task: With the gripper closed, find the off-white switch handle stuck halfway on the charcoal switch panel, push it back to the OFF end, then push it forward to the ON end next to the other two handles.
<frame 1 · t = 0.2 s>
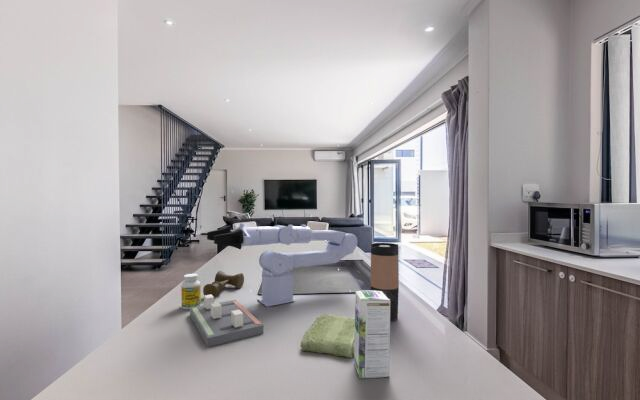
hand: (210, 237, 87), 22 cm above the countertop, tool horizontal, fingers open, 7 cm apart
kendama: (224, 291, 110), on the countertop
switch panel: (223, 323, 80), on the countertop
supplement bottle: (191, 307, 93), on the countertop
handle tripped: (237, 318, 74), point 4 cm above the countertop, slide at 3.0 cm
handle middle: (216, 310, 79), point 4 cm above the countertop, slide at 6.0 cm
handle right: (209, 301, 86), point 4 cm above the countertop, slide at 6.0 cm
syrup box: (371, 370, 59), on the countertop
washcloth: (334, 340, 72), on the countertop
travel mug: (384, 317, 85), on the countertop
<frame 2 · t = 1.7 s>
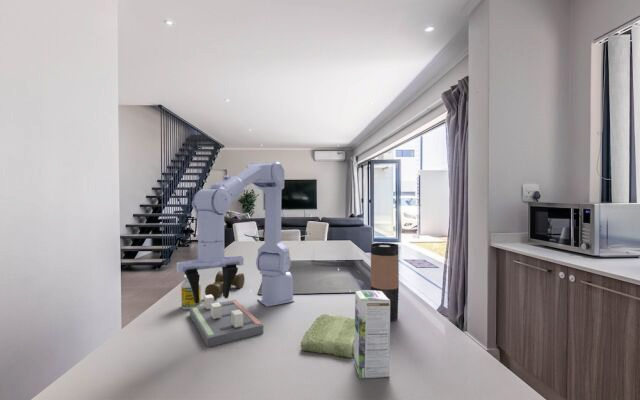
hand: (211, 299, 71), 9 cm above the countertop, tool pointing down, fingers open, 6 cm apart
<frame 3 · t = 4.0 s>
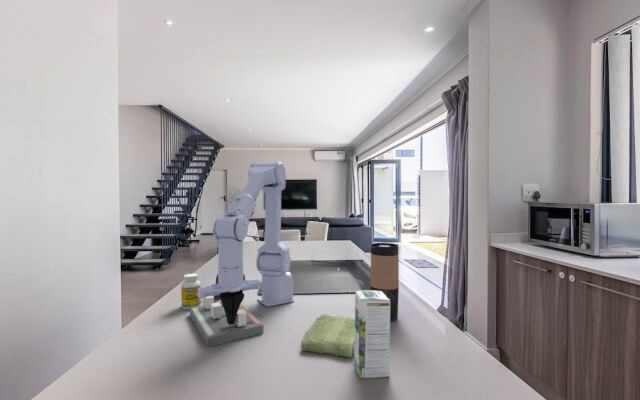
hand: (230, 323, 73), 3 cm above the countertop, tool pointing down, fingers closed
handle tripped: (240, 317, 74), point 4 cm above the countertop, slide at 2.2 cm, touching gripper
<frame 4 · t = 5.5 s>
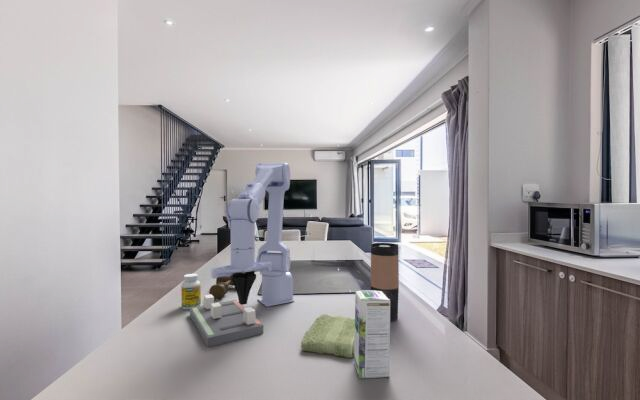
hand: (242, 303, 75), 7 cm above the countertop, tool pointing down, fingers closed
handle tripped: (249, 315, 76), point 4 cm above the countertop, slide at -0.1 cm
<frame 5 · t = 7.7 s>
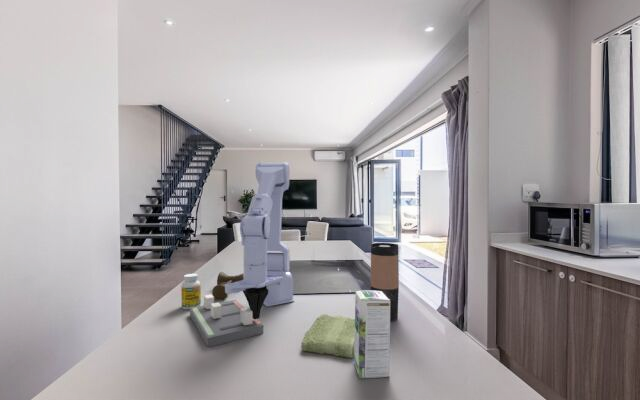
hand: (255, 317, 76), 3 cm above the countertop, tool pointing down, fingers closed
handle tripped: (246, 316, 75), point 4 cm above the countertop, slide at 0.7 cm, touching gripper
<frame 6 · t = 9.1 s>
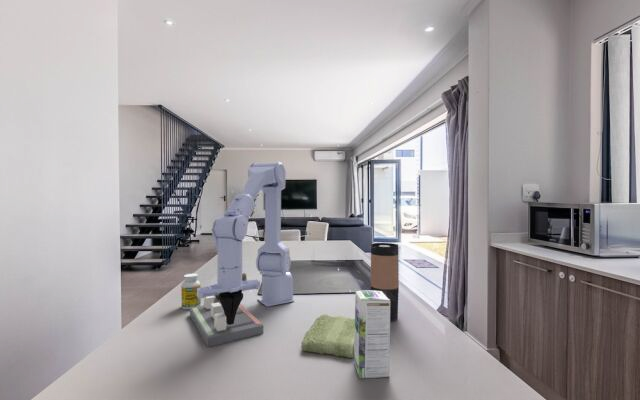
hand: (229, 323, 73), 3 cm above the countertop, tool pointing down, fingers closed
handle tripped: (220, 321, 72), point 4 cm above the countertop, slide at 7.0 cm, touching gripper
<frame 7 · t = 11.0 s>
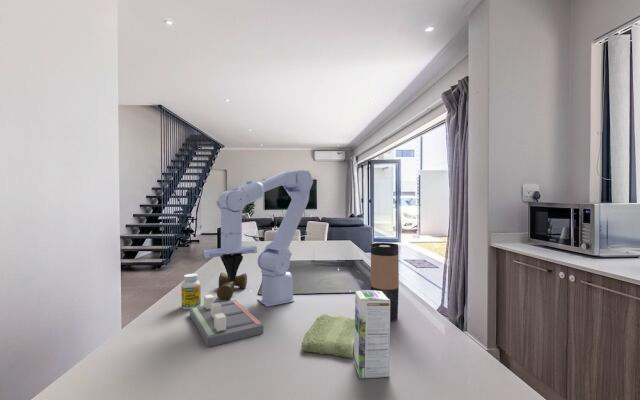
hand: (231, 280, 87), 9 cm above the countertop, tool pointing down, fingers closed
handle tripped: (220, 321, 72), point 4 cm above the countertop, slide at 7.0 cm
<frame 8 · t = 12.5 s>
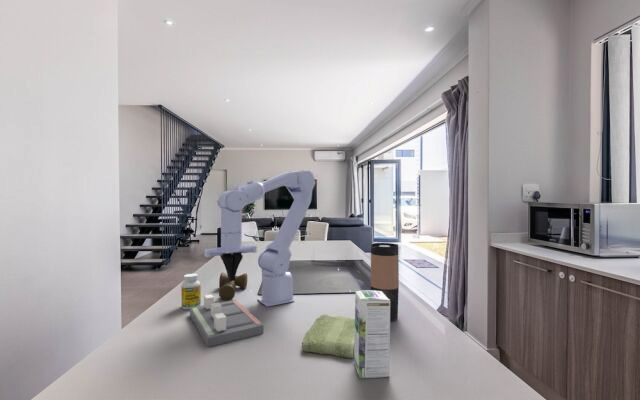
hand: (231, 279, 88), 9 cm above the countertop, tool pointing down, fingers closed
at the end: handle tripped slide at 7.0 cm; handle middle slide at 6.0 cm; handle right slide at 6.0 cm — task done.
